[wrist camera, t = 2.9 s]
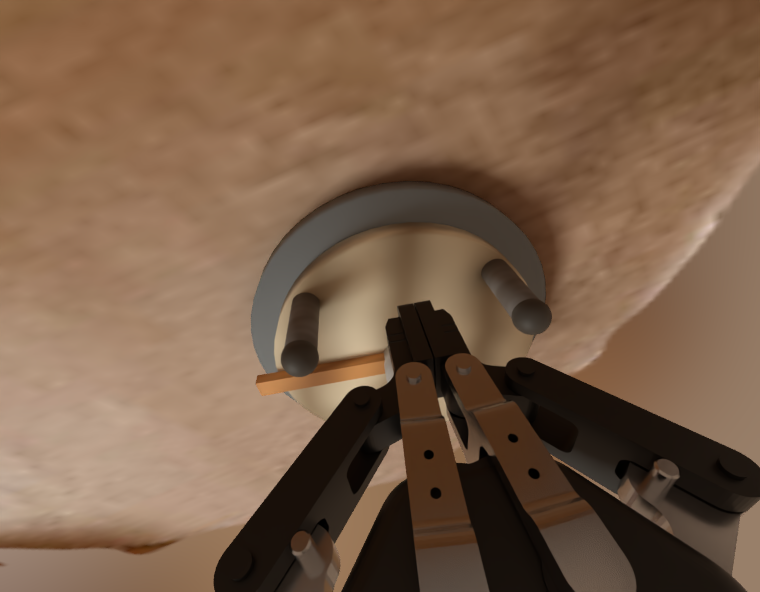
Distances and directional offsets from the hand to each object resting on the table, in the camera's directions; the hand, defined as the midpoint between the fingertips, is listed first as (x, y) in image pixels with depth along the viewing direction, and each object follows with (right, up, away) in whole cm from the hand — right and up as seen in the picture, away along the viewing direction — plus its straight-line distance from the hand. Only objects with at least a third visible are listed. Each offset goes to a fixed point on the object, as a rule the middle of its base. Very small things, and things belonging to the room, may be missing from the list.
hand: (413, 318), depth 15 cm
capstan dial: (0, -3, +12) cm, 12 cm away
